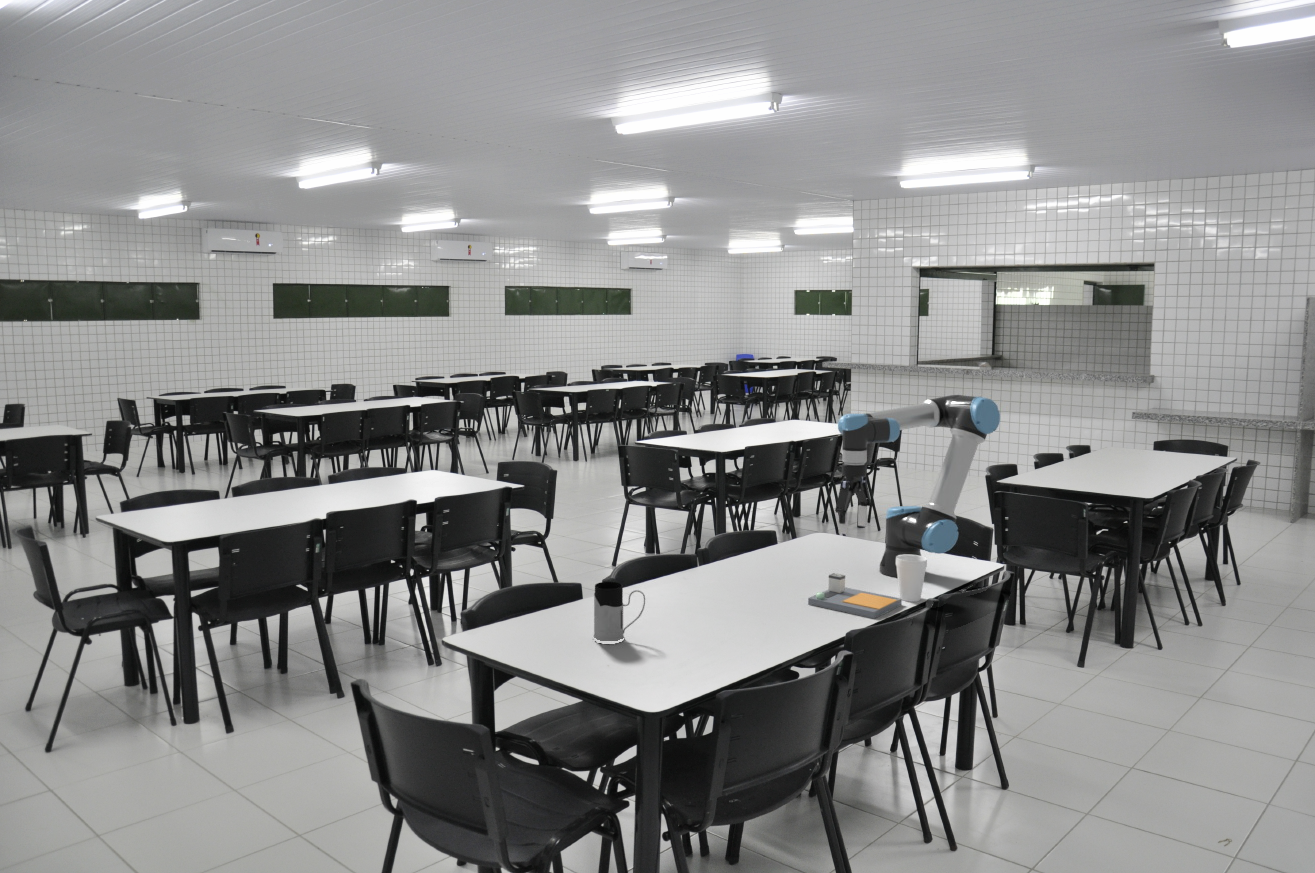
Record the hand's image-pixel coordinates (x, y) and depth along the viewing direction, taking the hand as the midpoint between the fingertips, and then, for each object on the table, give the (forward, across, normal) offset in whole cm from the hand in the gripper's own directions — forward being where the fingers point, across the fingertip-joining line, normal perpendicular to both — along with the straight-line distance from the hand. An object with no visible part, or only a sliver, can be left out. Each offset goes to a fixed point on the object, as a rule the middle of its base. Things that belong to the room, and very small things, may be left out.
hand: (852, 529), depth 304 cm
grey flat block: (+20, +11, +6) cm, 24 cm away
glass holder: (+20, +80, -30) cm, 88 cm away
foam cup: (+21, -6, +17) cm, 28 cm away
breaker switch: (+18, +8, -2) cm, 20 cm away
